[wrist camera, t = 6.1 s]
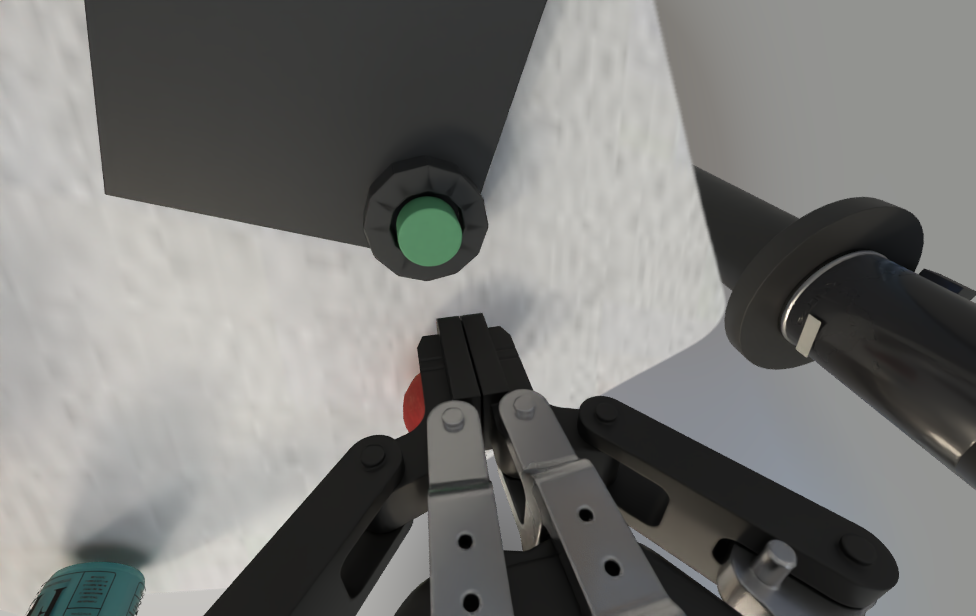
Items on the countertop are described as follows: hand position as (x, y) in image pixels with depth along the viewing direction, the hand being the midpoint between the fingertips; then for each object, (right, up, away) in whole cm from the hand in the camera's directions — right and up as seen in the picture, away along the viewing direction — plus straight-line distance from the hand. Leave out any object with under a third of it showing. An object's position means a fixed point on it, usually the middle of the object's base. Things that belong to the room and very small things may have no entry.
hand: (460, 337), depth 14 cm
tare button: (-2, +5, +7) cm, 9 cm away
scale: (-6, +11, +5) cm, 14 cm away
